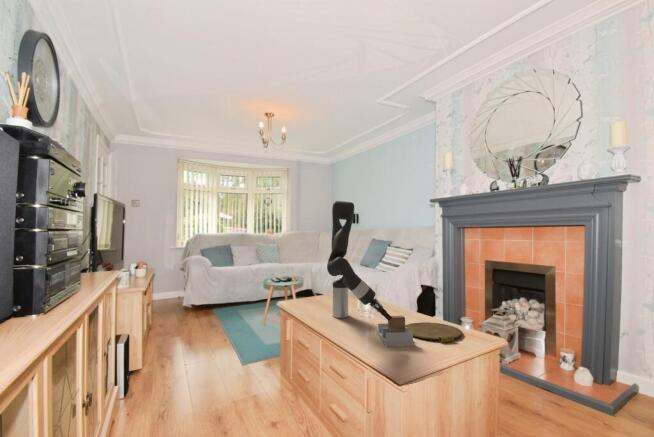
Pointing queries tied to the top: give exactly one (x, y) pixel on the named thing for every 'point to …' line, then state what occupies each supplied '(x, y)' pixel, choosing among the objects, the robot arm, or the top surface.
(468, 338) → the top surface
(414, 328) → the decorative disc
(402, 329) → the brown rectangular block
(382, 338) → the rack
